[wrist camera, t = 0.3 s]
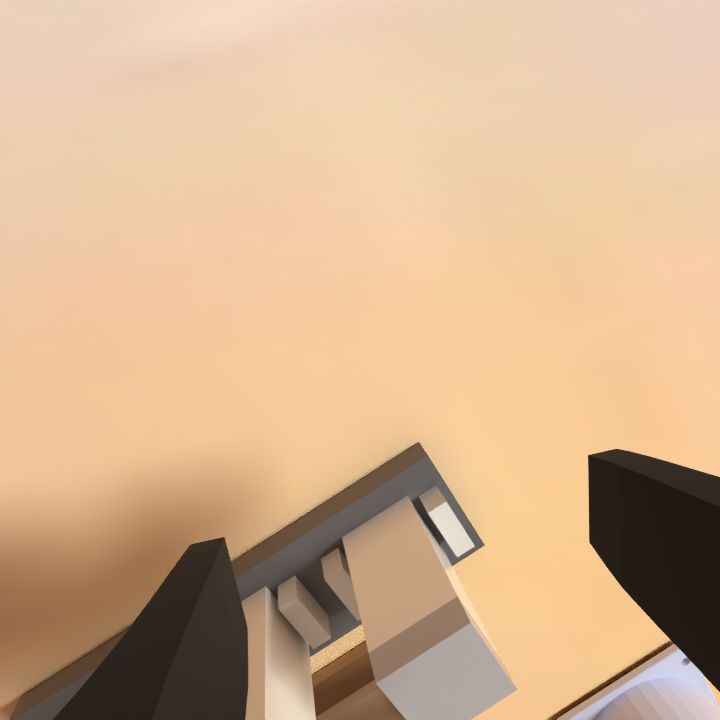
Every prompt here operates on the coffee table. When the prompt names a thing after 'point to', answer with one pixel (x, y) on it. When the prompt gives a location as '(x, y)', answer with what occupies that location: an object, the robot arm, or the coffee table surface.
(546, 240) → the coffee table surface
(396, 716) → the tray
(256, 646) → the red cap fuse
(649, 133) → the coffee table surface
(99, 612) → the coffee table surface
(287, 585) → the block
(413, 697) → the block
